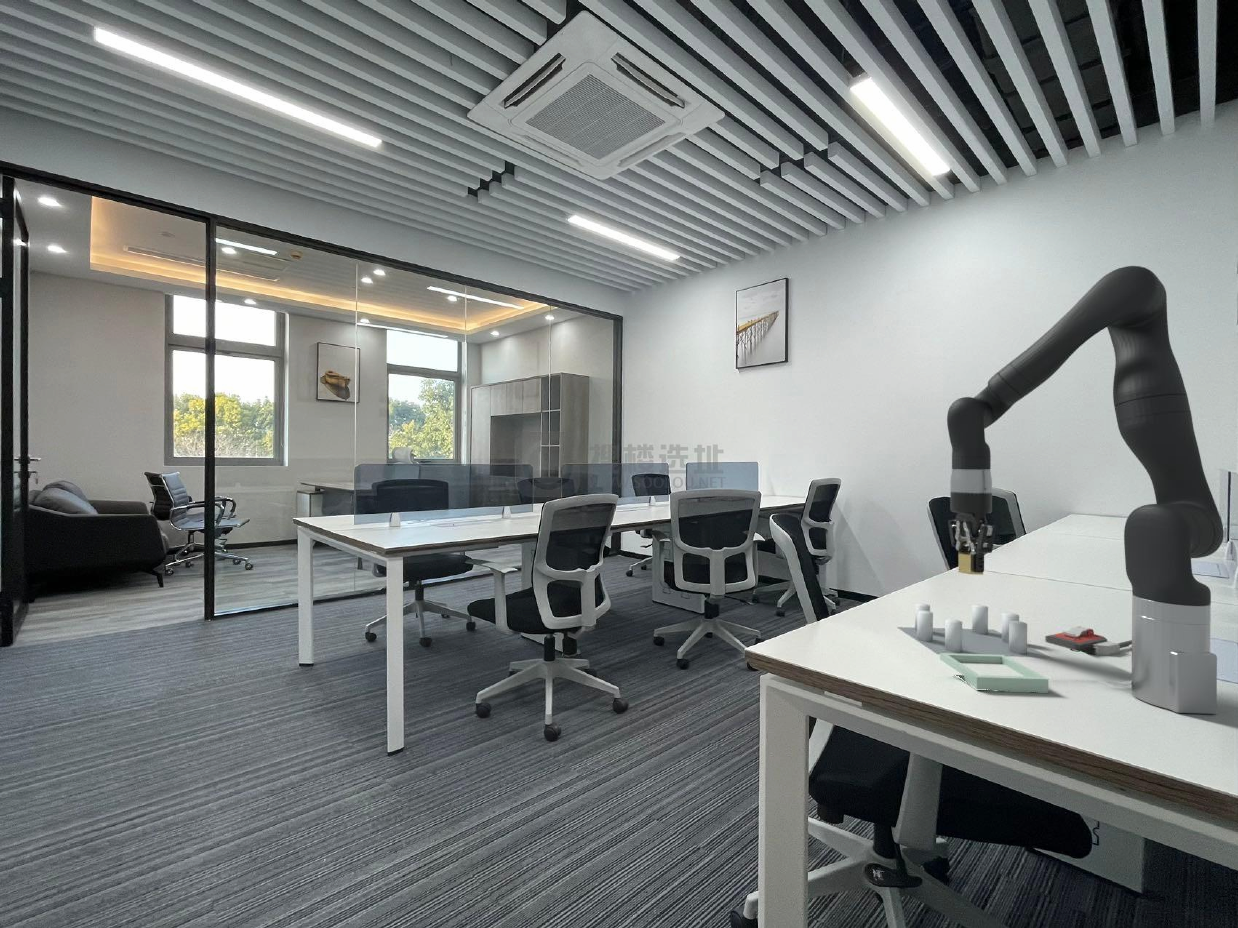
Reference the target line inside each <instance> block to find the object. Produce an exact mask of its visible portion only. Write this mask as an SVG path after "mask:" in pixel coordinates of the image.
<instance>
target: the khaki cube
mask: <svg viewBox="0 0 1238 928" xmlns="http://www.w3.org/2000/svg"><path fill="white" fill-rule="evenodd" d="M971 554H972V552H971V551H970V552H959V566H958V573H961V574H967V575H975V576H976V575H977V576H978V575H980V576H981V575H982V576H983V575H984V572H983V573H975V572H973V571H972V570H971Z"/></svg>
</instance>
